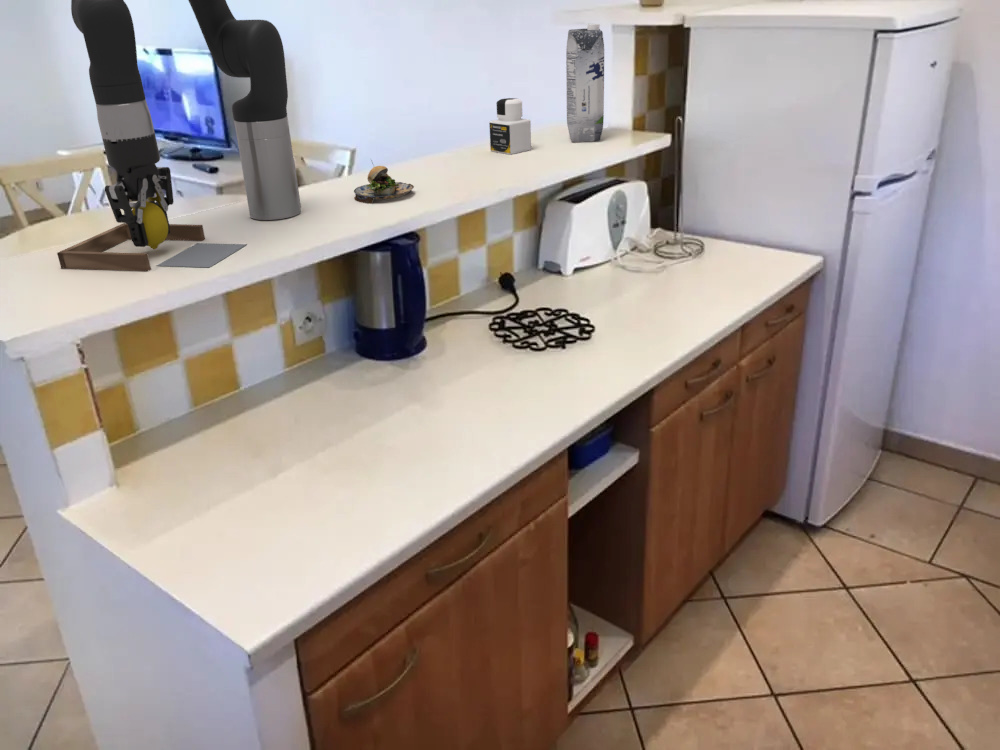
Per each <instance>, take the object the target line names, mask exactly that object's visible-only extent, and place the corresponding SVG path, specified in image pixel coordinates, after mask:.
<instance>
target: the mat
mask: <svg viewBox="0 0 1000 750" xmlns="http://www.w3.org/2000/svg"><path fill="white" fill-rule="evenodd" d="M246 246H247V244H246V243H216V242H215V243H212V242H211V243H210V242H208V243H207V242H206V243H205V242H196V243H195V244H193V245H192V246H191V245H190V247H188V248H186V249H184V250H182V251H180V252H178V253H177V254H175V255H173V256H172V257H169V258H168V259H166V260H164V261H162V262H160V263H158V264H157V265H155V266H156V267H169V266H170V268H171V267H174V268H175V267H176V268H200V269H201V268H206V269H210V268H212V267H213V266H215V265H217V264H218V263H219V262H221V261H223V260H224V259H226V258H229V256H231V255H232V254H234V253H236V252H238V251H239V250H241V249H242V248H244V247H246Z"/></svg>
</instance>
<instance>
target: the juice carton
mask: <svg viewBox="0 0 1000 750" xmlns="http://www.w3.org/2000/svg"><path fill="white" fill-rule="evenodd" d="M600 26H601V25H600V24H599V23H587V28H576V29H572V28H571V29H568V32H567V40H566V47H565V48H566V49H565V50H566V55H565V57H566V63H565V64H566V67H565V69H566V72H565V73H566V124H567V130H568V134H569V135H568V136H569V137H570V141H571V143H589V142H590V143H593V142H596V143H597V142H600V141H601V139H602V134H603V130H604V118H605V117H604V116H605V115H604V112H605V109H604V108H605V107H604V106H605V42H604V33H603V31H602V30H601V28H600Z"/></svg>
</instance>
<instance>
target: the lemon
mask: <svg viewBox="0 0 1000 750" xmlns="http://www.w3.org/2000/svg"><path fill="white" fill-rule="evenodd" d="M132 212H133V215H135V208H133V209H132ZM142 223H144V226H145V231H146V235H147V239H148V245H147V246H146V247H150V248H151V250H156V249H158V247H159V246H160V245H161V244H162V243H164V242H165V241H166V240H165V239H166V237H167V235H168V223H167V219H166V217H165V214H164V212H163V211H162V209H161V208H160V207H159V206H157V205H156V204H154V203H151V202H147V201H146V207H145V208H144V209H143V218H142Z"/></svg>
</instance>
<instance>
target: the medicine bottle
mask: <svg viewBox="0 0 1000 750" xmlns="http://www.w3.org/2000/svg"><path fill="white" fill-rule="evenodd" d="M522 117H523V101H522V100H521V99H519V98H517V97H511V98H510V97H508V98H500V99H499V100H497V101H496V118H498V119H494V120H490V121H489V122H488V123H489V125H488V126H489V142H490V143H489V145H490V152H493V153H499V154H503V155H504V154H505V155H515V154H519V153H524V152H528V151H531V150H532V135H531V134H532V132H531V131H532V123H531V120H530V119H527V118H522Z"/></svg>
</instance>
